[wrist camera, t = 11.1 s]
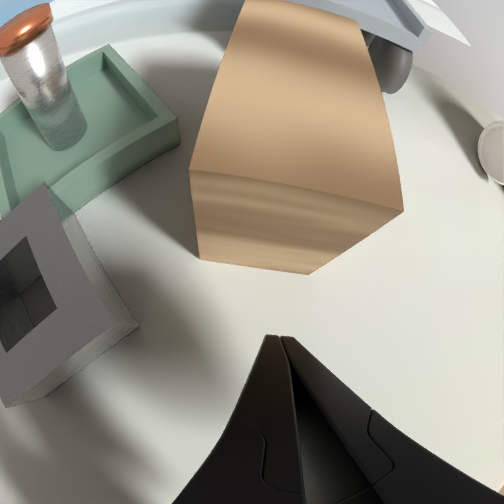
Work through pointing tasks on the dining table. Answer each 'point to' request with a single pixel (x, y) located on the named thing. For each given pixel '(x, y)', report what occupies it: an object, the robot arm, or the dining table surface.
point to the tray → (87, 136)
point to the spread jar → (492, 151)
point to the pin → (42, 77)
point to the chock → (292, 143)
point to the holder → (63, 294)
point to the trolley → (383, 34)
